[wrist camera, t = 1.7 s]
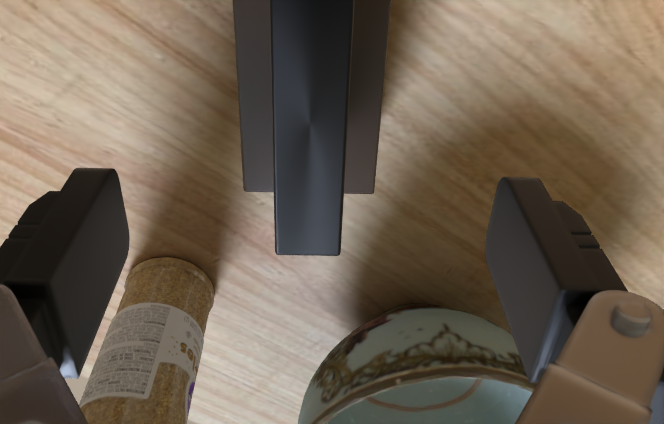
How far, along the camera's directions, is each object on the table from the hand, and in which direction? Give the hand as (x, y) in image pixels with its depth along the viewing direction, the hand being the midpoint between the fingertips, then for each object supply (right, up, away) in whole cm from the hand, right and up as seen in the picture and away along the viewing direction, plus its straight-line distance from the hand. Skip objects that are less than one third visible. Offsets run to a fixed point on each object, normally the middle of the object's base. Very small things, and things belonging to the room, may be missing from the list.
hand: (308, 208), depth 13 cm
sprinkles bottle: (-8, -4, +18) cm, 20 cm away
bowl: (+5, -7, +21) cm, 23 cm away
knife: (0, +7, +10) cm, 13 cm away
